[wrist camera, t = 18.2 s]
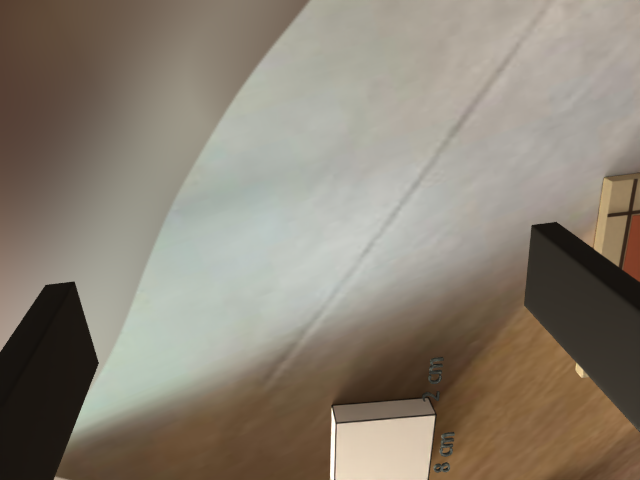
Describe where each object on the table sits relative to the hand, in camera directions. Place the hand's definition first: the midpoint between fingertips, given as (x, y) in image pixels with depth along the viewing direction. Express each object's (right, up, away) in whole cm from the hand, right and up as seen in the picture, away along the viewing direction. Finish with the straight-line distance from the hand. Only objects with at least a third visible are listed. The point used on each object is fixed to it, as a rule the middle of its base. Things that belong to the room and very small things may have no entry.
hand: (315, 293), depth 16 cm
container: (+7, -18, +39) cm, 43 cm away
